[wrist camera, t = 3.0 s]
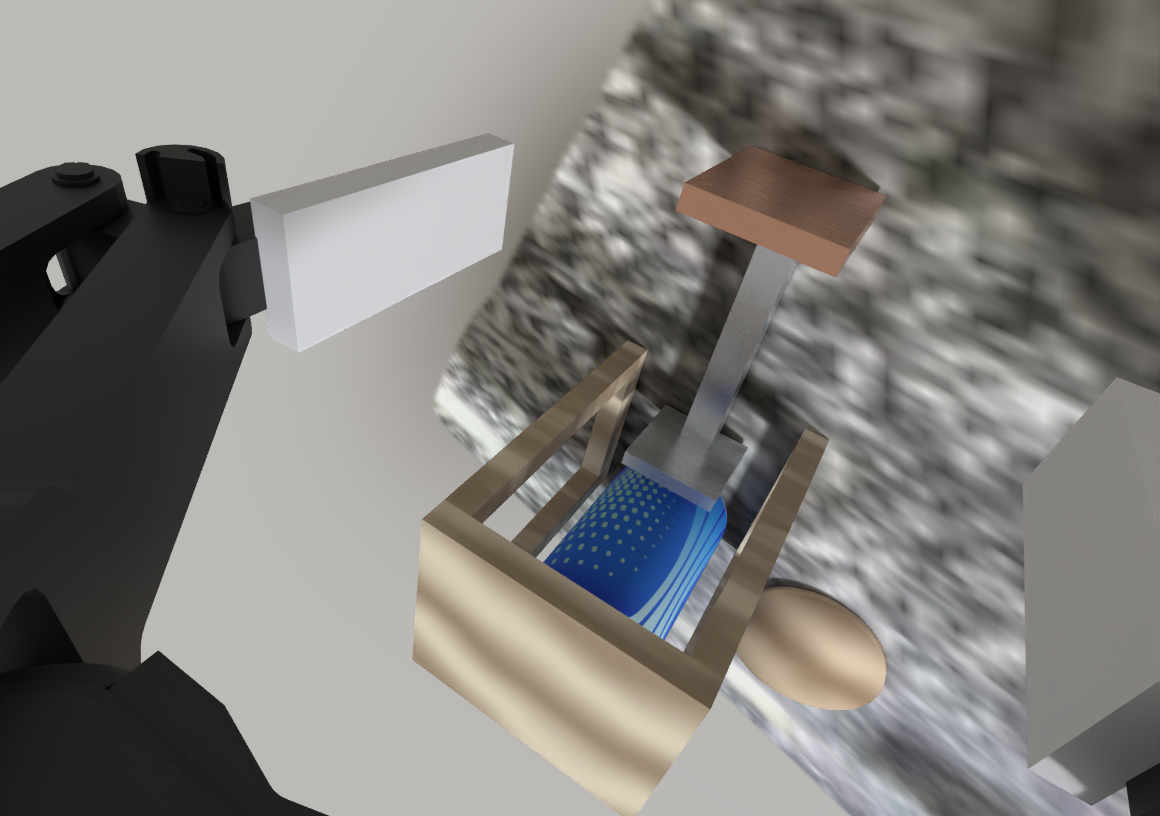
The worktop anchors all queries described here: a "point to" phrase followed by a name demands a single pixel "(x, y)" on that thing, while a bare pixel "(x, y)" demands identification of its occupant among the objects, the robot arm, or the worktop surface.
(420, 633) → the wooden open frame
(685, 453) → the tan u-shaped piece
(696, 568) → the beer can
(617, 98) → the worktop surface
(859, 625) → the coaster
